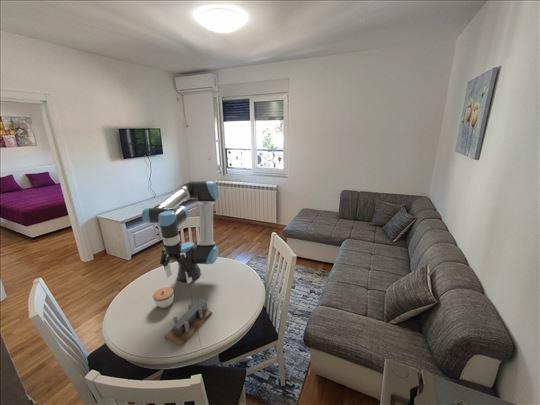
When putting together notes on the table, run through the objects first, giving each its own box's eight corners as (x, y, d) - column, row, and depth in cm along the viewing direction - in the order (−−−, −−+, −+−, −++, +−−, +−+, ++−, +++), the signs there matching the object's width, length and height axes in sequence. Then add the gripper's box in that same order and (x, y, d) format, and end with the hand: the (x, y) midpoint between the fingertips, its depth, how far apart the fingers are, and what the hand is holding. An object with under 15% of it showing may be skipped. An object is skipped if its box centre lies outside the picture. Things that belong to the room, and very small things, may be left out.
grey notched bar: (200, 306, 134) (199, 299, 132) (208, 309, 132) (207, 301, 130) (173, 333, 117) (171, 325, 115) (181, 337, 115) (179, 329, 113)
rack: (196, 307, 135) (194, 296, 133) (212, 313, 131) (210, 302, 128) (165, 338, 116) (162, 325, 114) (182, 346, 112) (179, 333, 110)
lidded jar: (153, 313, 132) (150, 299, 129) (156, 300, 142) (154, 286, 139) (174, 308, 135) (171, 294, 132) (176, 296, 145) (173, 283, 142)
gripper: (147, 241, 118) (155, 277, 125) (187, 251, 108) (193, 289, 115) (159, 234, 124) (166, 269, 131) (198, 243, 115) (203, 280, 122)
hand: (179, 279), depth 123 cm, fingers open, 13 cm apart
